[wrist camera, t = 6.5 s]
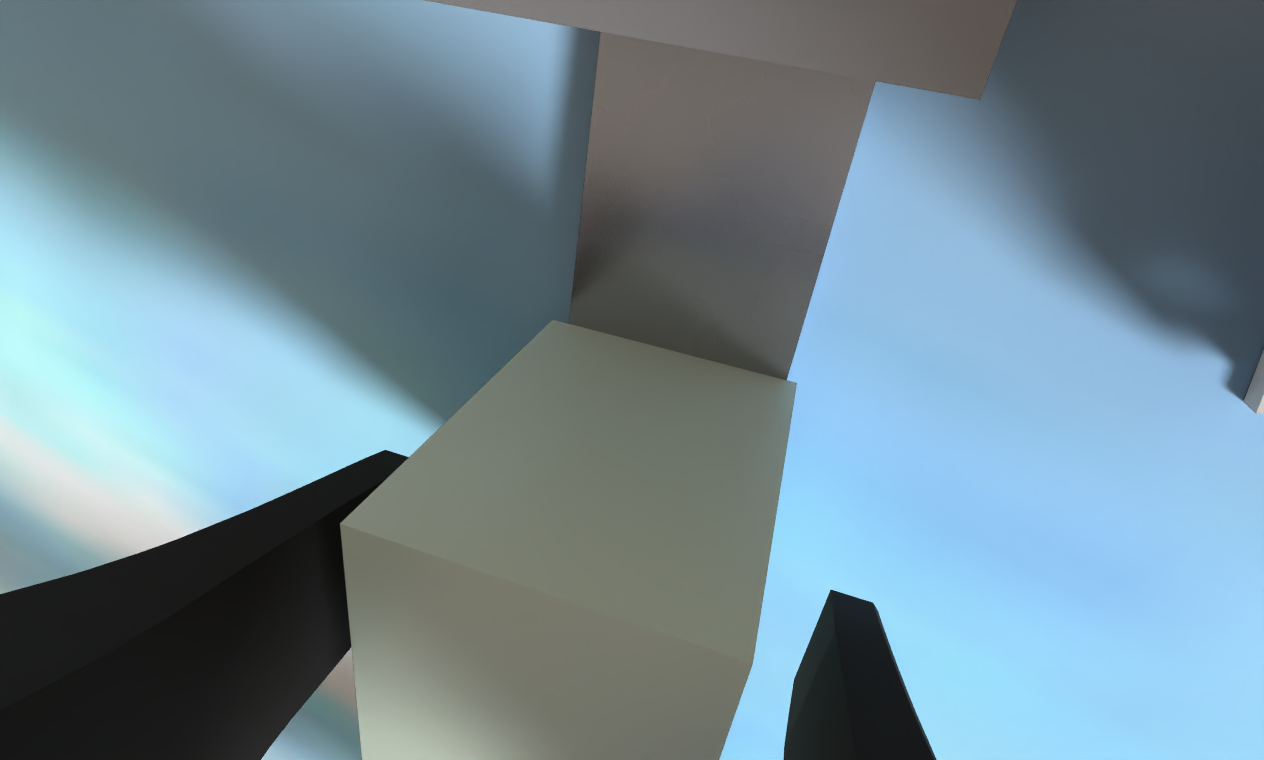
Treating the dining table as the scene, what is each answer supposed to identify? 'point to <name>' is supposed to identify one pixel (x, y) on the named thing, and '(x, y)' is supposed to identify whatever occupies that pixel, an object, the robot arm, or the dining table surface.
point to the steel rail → (710, 199)
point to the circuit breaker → (1256, 389)
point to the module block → (570, 560)
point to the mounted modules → (806, 33)
